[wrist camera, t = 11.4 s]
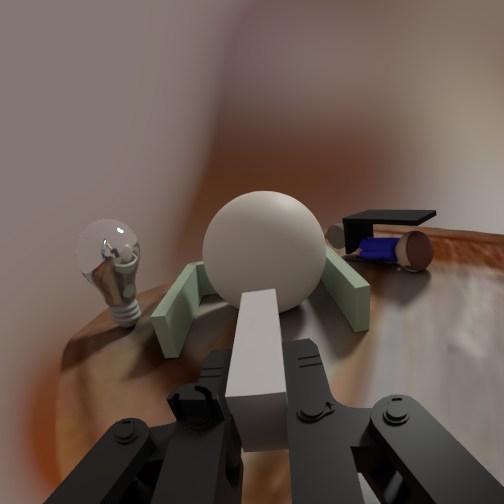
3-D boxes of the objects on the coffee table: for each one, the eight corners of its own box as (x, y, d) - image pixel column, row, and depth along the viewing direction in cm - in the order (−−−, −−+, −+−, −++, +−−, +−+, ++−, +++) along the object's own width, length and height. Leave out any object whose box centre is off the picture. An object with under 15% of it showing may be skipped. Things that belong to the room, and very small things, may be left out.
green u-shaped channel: (369, 329, 20) (370, 285, 19) (165, 358, 21) (150, 317, 20) (326, 273, 34) (324, 242, 33) (195, 292, 35) (188, 263, 34)
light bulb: (104, 350, 23) (65, 230, 20) (101, 324, 28) (72, 226, 25) (167, 328, 26) (136, 210, 23) (152, 307, 32) (127, 211, 29)
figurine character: (328, 271, 39) (422, 282, 26) (319, 219, 38) (415, 211, 24) (357, 258, 42) (442, 263, 29) (349, 211, 41) (436, 203, 27)
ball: (368, 223, 21) (317, 228, 33) (244, 152, 20) (231, 183, 31) (309, 350, 21) (276, 314, 33) (174, 294, 19) (187, 274, 31)
